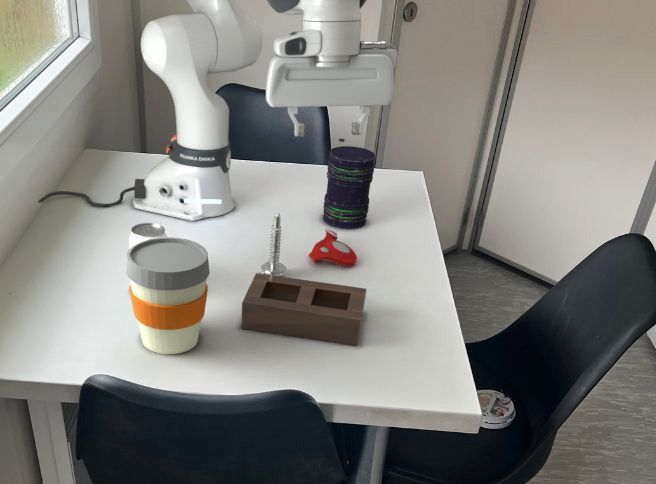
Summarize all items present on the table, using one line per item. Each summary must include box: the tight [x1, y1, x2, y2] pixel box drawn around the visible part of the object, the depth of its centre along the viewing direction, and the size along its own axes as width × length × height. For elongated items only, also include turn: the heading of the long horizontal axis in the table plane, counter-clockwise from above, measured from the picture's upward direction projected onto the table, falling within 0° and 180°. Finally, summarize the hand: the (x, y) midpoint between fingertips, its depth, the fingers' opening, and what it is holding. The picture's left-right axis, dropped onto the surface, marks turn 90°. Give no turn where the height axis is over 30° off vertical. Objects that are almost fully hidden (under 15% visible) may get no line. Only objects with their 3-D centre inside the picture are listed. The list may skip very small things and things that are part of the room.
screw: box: [260, 212, 288, 277], centre depth 133 cm, size 13×5×5 cm
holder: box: [240, 272, 367, 347], centre depth 124 cm, size 11×20×5 cm, turn 79°
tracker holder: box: [308, 228, 358, 267], centre depth 145 cm, size 12×4×10 cm
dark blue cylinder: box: [322, 138, 376, 230], centre depth 157 cm, size 10×10×18 cm
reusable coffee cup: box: [125, 236, 210, 355], centre depth 113 cm, size 13×13×15 cm
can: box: [129, 222, 168, 249], centre depth 127 cm, size 6×6×12 cm
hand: (328, 135), depth 118 cm, fingers open, 8 cm apart
